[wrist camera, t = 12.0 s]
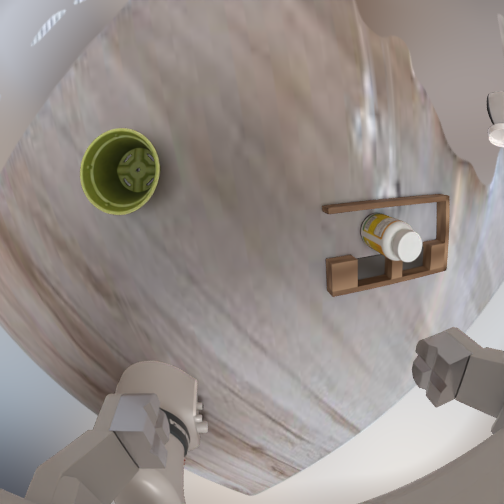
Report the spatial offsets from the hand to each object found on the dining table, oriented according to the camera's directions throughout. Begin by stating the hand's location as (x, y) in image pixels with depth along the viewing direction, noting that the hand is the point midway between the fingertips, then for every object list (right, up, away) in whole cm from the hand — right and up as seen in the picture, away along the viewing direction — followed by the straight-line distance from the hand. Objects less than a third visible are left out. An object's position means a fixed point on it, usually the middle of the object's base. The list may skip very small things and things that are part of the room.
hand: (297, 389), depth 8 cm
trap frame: (+20, +6, +35) cm, 41 cm away
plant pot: (-16, +15, +29) cm, 36 cm away
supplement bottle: (+17, +7, +35) cm, 39 cm away
